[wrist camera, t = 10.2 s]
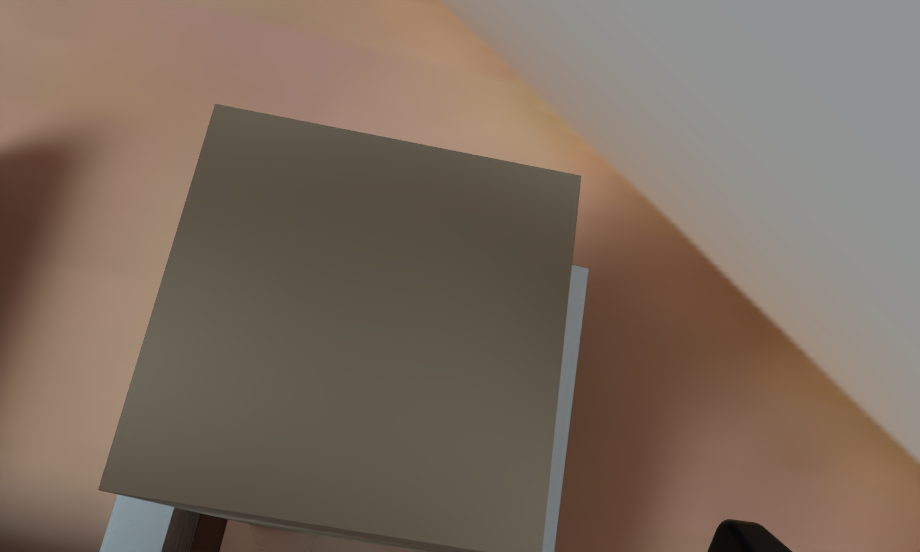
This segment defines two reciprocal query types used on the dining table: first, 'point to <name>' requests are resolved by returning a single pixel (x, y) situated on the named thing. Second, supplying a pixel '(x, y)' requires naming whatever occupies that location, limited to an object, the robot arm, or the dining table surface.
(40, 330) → the dining table surface
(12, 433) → the dining table surface
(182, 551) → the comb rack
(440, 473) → the grey-brown peg
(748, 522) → the robot arm
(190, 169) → the dining table surface
